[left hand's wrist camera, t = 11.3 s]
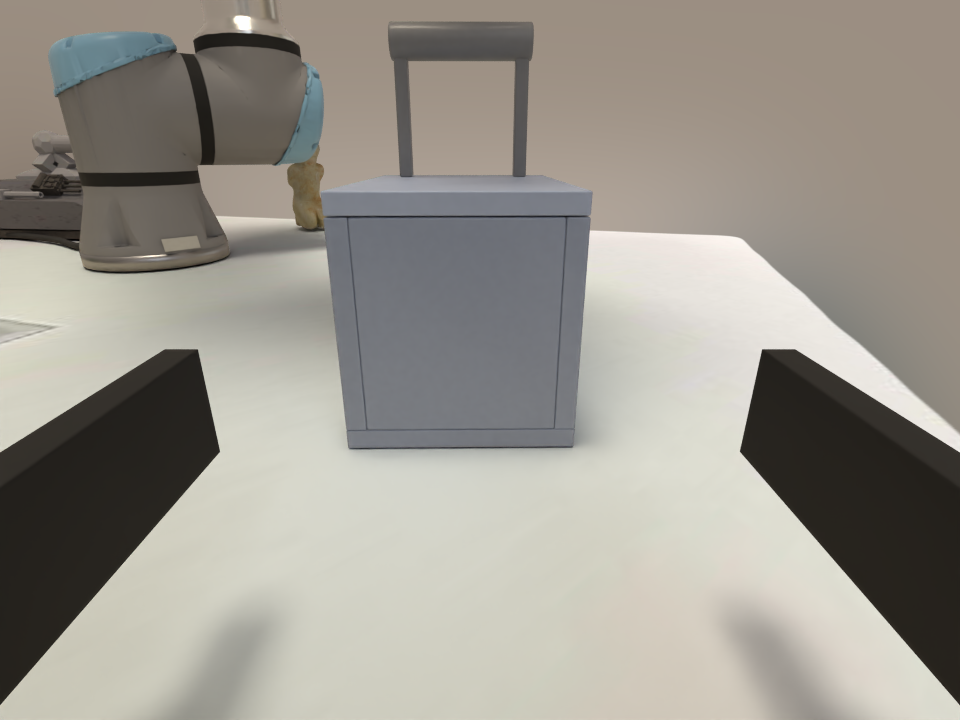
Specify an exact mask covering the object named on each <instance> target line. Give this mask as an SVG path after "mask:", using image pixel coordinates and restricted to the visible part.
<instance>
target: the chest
mask: <svg viewBox="0 0 960 720" xmlns="http://www.w3.org/2000/svg"><path fill="white" fill-rule="evenodd" d="M323 221H324V230H325V239H326V248H327V257H328V266H329V275H330V284H331V293H332V302H333V311H334V321H335V330H336V339H337V348H338V357H339V366H340V375H341V384H342V393H343V402H344V411H345V421H346V429H347V439H348V447H349V448H407V447H550V446H573V441H574V427H575V415H576V402H577V389H578V376H579V363H580V350H581V337H582V324H583V311H584V297H585V284H586V271H587V258H588V245H589V232H590V217H588V216H327V217H325V218H324V219H323Z"/></svg>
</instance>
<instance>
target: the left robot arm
mask: <svg viewBox="0 0 960 720" xmlns="http://www.w3.org/2000/svg"><path fill="white" fill-rule="evenodd" d="M219 452H220V449H219V445H218V440H217V436H216V431H215V426H214V422H213V417H212V413H211V408H210V403H209V399H208V394H207V390H206V385H205V380H204V376H203V371H202V367H201V362H200V358H199V353H198V349H165V350H163V351H162V352H160V353H158V354H157V355H155V356H154V357H152V358H150V359H149V360H147V361H146V362H144V363H142V364H141V365H139V366H138V367H136V368H134V369H133V370H131V371H130V372H128V373H126V374H125V375H123V376H122V377H120V378H118V379H117V380H115V381H114V382H112V383H110V384H109V385H107V386H106V387H104V388H103V389H101V390H99V391H98V392H96V393H95V394H93V395H91V396H90V397H88V398H87V399H85V400H83V401H82V402H80V403H79V404H77V405H75V406H74V407H72V408H71V409H69V410H67V411H66V412H64V413H63V414H61V415H59V416H58V417H56V418H55V419H53V420H51V421H50V422H48V423H47V424H45V425H43V426H42V427H40V428H39V429H37V430H35V431H34V432H32V433H31V434H29V435H27V436H26V437H24V438H23V439H21V440H19V441H18V442H16V443H15V444H13V445H11V446H10V447H8V448H7V449H5V450H4V451H2V452H0V705H1V703H2V702H3V701H4V700H5V699H6V698H7V697H8V695H9V694H10V693H11V692H12V691H13V690H14V688H15V687H16V686H17V685H18V684H19V683H20V682H21V680H22V679H23V678H24V677H25V676H26V675H27V673H28V672H29V671H30V670H31V669H32V668H33V667H34V665H35V664H36V663H37V662H38V661H39V660H40V658H41V657H42V656H43V655H44V654H45V653H46V652H47V650H48V649H49V648H50V647H51V646H52V645H53V644H54V642H55V641H56V640H57V639H58V638H59V637H60V635H61V634H62V633H63V632H64V631H65V630H66V629H67V627H68V626H69V625H70V624H71V623H72V622H73V620H74V619H75V618H76V617H77V616H78V615H79V614H80V612H81V611H82V610H83V609H84V608H85V607H86V605H87V604H88V603H89V602H90V601H91V600H92V599H93V597H94V596H95V595H96V594H97V593H98V592H99V590H100V589H101V588H102V587H103V586H104V585H105V584H106V582H107V581H108V580H109V579H110V578H111V577H112V576H113V574H114V573H115V572H116V571H117V570H118V569H119V567H120V566H121V565H122V564H123V563H124V562H125V561H126V559H127V558H128V557H129V556H130V555H131V554H132V552H133V551H134V550H135V549H136V548H137V547H138V546H139V544H140V543H141V542H142V541H143V540H144V539H145V537H146V536H147V535H148V534H149V533H150V532H151V531H152V529H153V528H154V527H155V526H156V525H157V524H158V523H159V521H160V520H161V519H162V518H163V517H164V516H165V514H166V513H167V512H168V511H169V510H170V509H171V508H172V506H173V505H174V504H175V503H176V502H177V501H178V499H179V498H180V497H181V496H182V495H183V494H184V493H185V491H186V490H187V489H188V488H189V487H190V486H191V484H192V483H193V482H194V481H195V480H196V479H197V478H198V476H199V475H200V474H201V473H202V472H203V471H204V470H205V468H206V467H207V466H208V465H209V464H210V463H211V461H212V460H213V459H214V458H215V457H216V456H217V455H218V453H219ZM740 452H741V453H742V455H743V456H744V457H745V458H746V459H747V460H748V461H749V463H750V464H751V465H752V466H753V467H754V468H755V470H756V471H757V472H758V473H759V474H760V475H761V476H762V478H763V479H764V480H765V481H766V482H767V483H768V484H769V486H770V487H771V488H772V489H773V490H774V491H775V493H776V494H777V495H778V496H779V497H780V498H781V499H782V501H783V502H784V503H785V504H786V505H787V506H788V508H789V509H790V510H791V511H792V512H793V513H794V514H795V516H796V517H797V518H798V519H799V520H800V521H801V523H802V524H803V525H804V526H805V527H806V528H807V529H808V531H809V532H810V533H811V534H812V535H813V536H814V537H815V539H816V540H817V541H818V542H819V543H820V544H821V546H822V547H823V548H824V549H825V550H826V551H827V552H828V554H829V555H830V556H831V557H832V558H833V559H834V561H835V562H836V563H837V564H838V565H839V566H840V567H841V569H842V570H843V571H844V572H845V573H846V574H847V576H848V577H849V578H850V579H851V580H852V581H853V582H854V584H855V585H856V586H857V587H858V588H859V589H860V590H861V592H862V593H863V594H864V595H865V596H866V597H867V599H868V600H869V601H870V602H871V603H872V604H873V605H874V607H875V608H876V609H877V610H878V611H879V612H880V614H881V615H882V616H883V617H884V618H885V619H886V620H887V622H888V623H889V624H890V625H891V626H892V627H893V629H894V630H895V631H896V632H897V633H898V634H899V635H900V637H901V638H902V639H903V640H904V641H905V642H906V644H907V645H908V646H909V647H910V648H911V649H912V650H913V652H914V653H915V654H916V655H917V656H918V657H919V658H920V660H921V661H922V662H923V663H924V664H925V665H926V667H927V668H928V669H929V670H930V671H931V672H932V673H933V675H934V676H935V677H936V678H937V679H938V680H939V682H940V683H941V684H942V685H943V686H944V687H945V688H946V690H947V691H948V692H949V693H950V694H951V695H952V697H953V698H954V699H955V700H956V701H957V702H958V703H959V705H960V452H958V451H956V450H955V449H953V448H952V447H950V446H949V445H947V444H945V443H944V442H942V441H941V440H939V439H937V438H936V437H934V436H933V435H931V434H929V433H928V432H926V431H925V430H923V429H921V428H920V427H918V426H917V425H915V424H913V423H912V422H910V421H909V420H907V419H905V418H904V417H902V416H901V415H899V414H897V413H896V412H894V411H893V410H891V409H889V408H888V407H886V406H885V405H883V404H881V403H880V402H878V401H877V400H875V399H873V398H872V397H870V396H869V395H867V394H865V393H864V392H862V391H861V390H859V389H857V388H856V387H854V386H853V385H851V384H850V383H848V382H846V381H845V380H843V379H842V378H840V377H838V376H837V375H835V374H834V373H832V372H830V371H829V370H827V369H826V368H824V367H822V366H821V365H819V364H818V363H816V362H814V361H813V360H811V359H810V358H808V357H806V356H805V355H803V354H802V353H800V352H798V351H797V350H795V349H762V353H761V358H760V362H759V367H758V371H757V376H756V380H755V385H754V390H753V394H752V399H751V403H750V408H749V413H748V417H747V422H746V426H745V431H744V436H743V440H742V445H741V449H740Z"/></svg>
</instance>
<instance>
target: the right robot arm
mask: <svg viewBox="0 0 960 720" xmlns="http://www.w3.org/2000/svg"><path fill="white" fill-rule="evenodd" d="M201 5H202V11H203V16H204V24H203V26H202V27H201V28H200V29H199V31H198V32H197V33H196V34H195V35H194V37H193V42H194V47H195V53H196V54H183V53H177V52H176V51H177V48H176V45H175V44H174V43H173V41H172V39H171V38H170V37H168V36H166V35H163V34H157V33H152V34H151V33H148V32H103V33H91V34H83V35H76V36H71V37H67V38H64V39H61V40H59V41H57V42H55V43H54V44H53V45H52V46H51V48H50V50H49V54H48V58H49V64H50V69H51V73H52V78H53V82H54V87H55V89H54V92H53V93H54V95H55V97H58V98H59V102H60V106H61V110H62V114H63V118H64V121H65V125H66V129H67V133H68V137H69V141H70V144H71V148H72V152H73V156H74V160H75V164H76V167H77V171H78V174H79V178H80V182H81V185H82V190H83V195H84V200H83V210H82V221H81V231H80V242H79V243H76V242H72V241H69V240H67V239H64V238H60V237H54V236H48V235H39V234H29V233H7V234H5V236H7V237H11V238H20V239H31V240H40V241H48V242H54V243H59V244H63V245H66V246H68V247H71V248H74V249H79V250H80V251H79V252H80V256H81V259H82V263H83V266H84V267H86V268H88V269H92V270H99V271H148V270H160V269H170V268H179V267H186V266H192V265H198V264H203V263H208V262H212V261H216V260H219V259H222V258H225V257H227V256H228V255H229V254H230V250H229V244H228V240H227V238H226V235H225V233H224V231H223V229H222V228H221V226H220V224H219V222H218V220H217V218H216V216H215V214H214V213H213V211H212V209H211V207H210V205H209V203H208V201H207V199H206V198H205V196H204V194H203V191H202V188H201V184H200V178H199V173H198V167H197V166H198V165H262V164H263V165H264V164H272V165H275V166H277V165H281V164H289V163H302V162H305V161H307V160H308V159H310V158H311V157H312V156H313V154H314V153H315V151H316V149H317V147H318V144H319V140H320V137H321V132H322V126H323V116H324V99H323V89H322V84H321V81H320V80H319V74H318V72H317V70H316V69H315V67H313V66H311V65H309V64H308V63H302V61H301V54H300V47H299V43H298V42H297V41H296V40H295V39H294V38H293V37H292V36H291V35H290V34H289V33H288V32H287V31H286V29H285V28H284V25H283V18H282V11H281V3H280V0H201Z"/></svg>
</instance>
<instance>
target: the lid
mask: <svg viewBox="0 0 960 720" xmlns="http://www.w3.org/2000/svg"><path fill="white" fill-rule="evenodd" d="M533 38H534V29H533V23H532V22H389V25H388V41H389V50H390V56H391V59H392V60H393V61H394V72H395V90H396V108H397V127H398V145H399V163H400V175H387V176H386V175H385V176H381V177H377V178H373V179H369V180H365V181H361V182H357V183H353V184H349V185H344V186H341V187H337V188H333V189H329V190H325V191H321V201H322V211H323V215H324V216H589V215H590V214H591V205H592V191H590V190H587V189H584V188H581V187H578V186H574V185H571V184H568V183H565V182H562V181H559V180H555V179H552V178H549V177H546V176H543V175H526V142H527V109H528V76H529V61H531V59H532V53H533ZM408 61H515V89H514V135H513V175H413V157H412V135H411V113H410V91H409V69H408Z"/></svg>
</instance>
